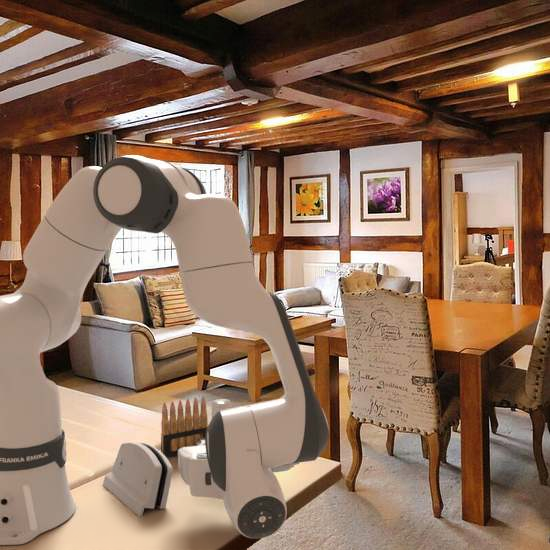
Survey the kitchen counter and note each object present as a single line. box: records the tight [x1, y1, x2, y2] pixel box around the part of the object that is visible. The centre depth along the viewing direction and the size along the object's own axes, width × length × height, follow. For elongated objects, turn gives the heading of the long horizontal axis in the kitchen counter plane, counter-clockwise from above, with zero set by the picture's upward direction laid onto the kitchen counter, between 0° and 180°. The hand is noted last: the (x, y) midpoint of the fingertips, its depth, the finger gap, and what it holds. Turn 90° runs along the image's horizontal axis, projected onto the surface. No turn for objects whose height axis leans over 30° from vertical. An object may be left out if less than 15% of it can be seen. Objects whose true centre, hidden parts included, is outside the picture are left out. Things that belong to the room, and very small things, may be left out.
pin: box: [211, 398, 232, 419], centre depth 119 cm, size 4×4×12 cm
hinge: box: [102, 441, 174, 517], centre depth 107 cm, size 17×5×10 cm, turn 39°
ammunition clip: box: [160, 396, 209, 459], centre depth 125 cm, size 11×2×12 cm, turn 117°
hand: (229, 441), depth 108 cm, fingers open, 8 cm apart
